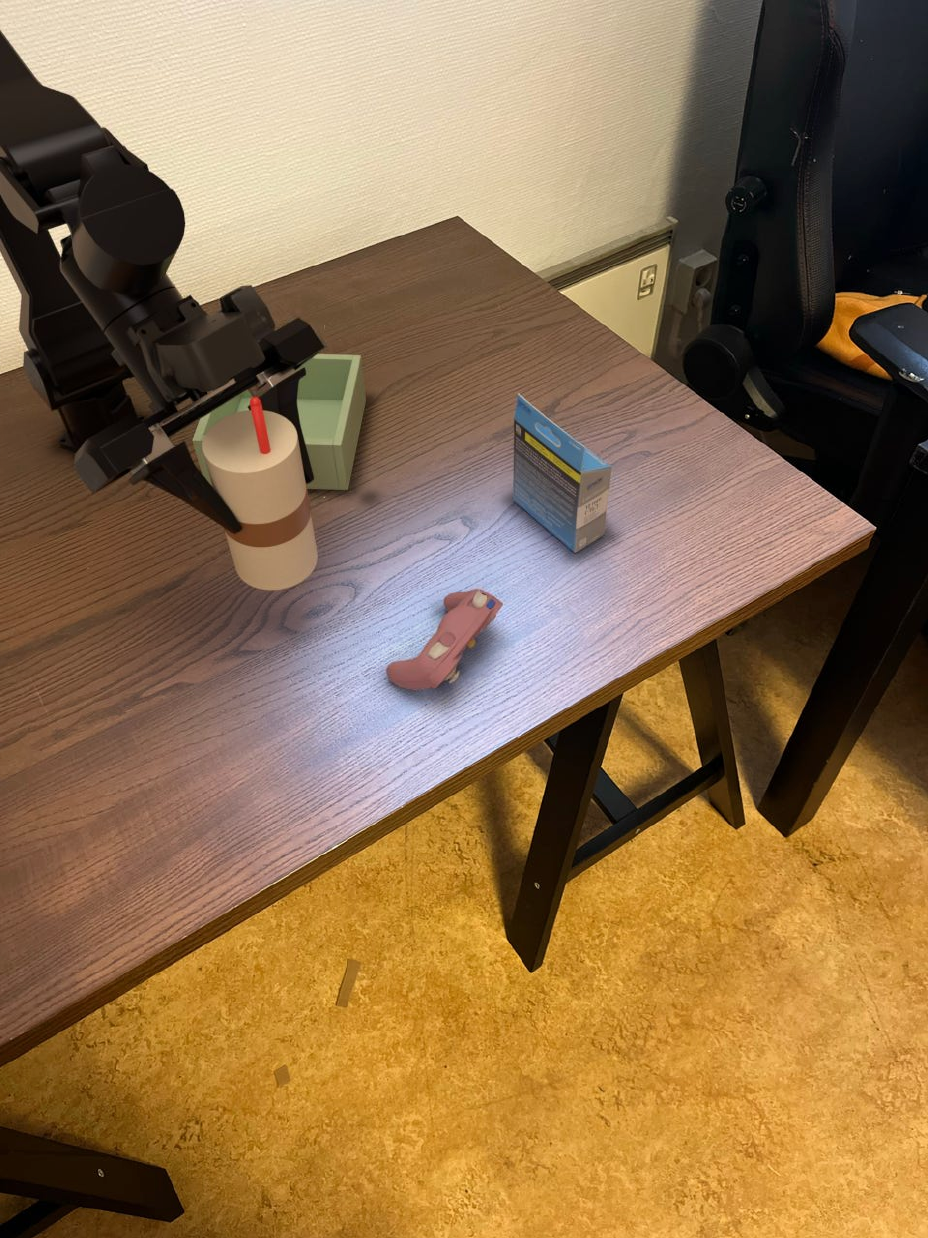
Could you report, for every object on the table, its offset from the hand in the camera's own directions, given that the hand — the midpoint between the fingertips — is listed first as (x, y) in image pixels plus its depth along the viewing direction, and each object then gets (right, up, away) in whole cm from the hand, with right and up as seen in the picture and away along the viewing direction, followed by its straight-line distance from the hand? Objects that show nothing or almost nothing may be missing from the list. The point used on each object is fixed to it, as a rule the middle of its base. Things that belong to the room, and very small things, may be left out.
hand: (275, 506), depth 67 cm
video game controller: (+12, -11, +9) cm, 19 cm away
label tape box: (+22, +1, +19) cm, 29 cm away
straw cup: (-1, -3, +6) cm, 7 cm away
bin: (-4, +10, +26) cm, 28 cm away
